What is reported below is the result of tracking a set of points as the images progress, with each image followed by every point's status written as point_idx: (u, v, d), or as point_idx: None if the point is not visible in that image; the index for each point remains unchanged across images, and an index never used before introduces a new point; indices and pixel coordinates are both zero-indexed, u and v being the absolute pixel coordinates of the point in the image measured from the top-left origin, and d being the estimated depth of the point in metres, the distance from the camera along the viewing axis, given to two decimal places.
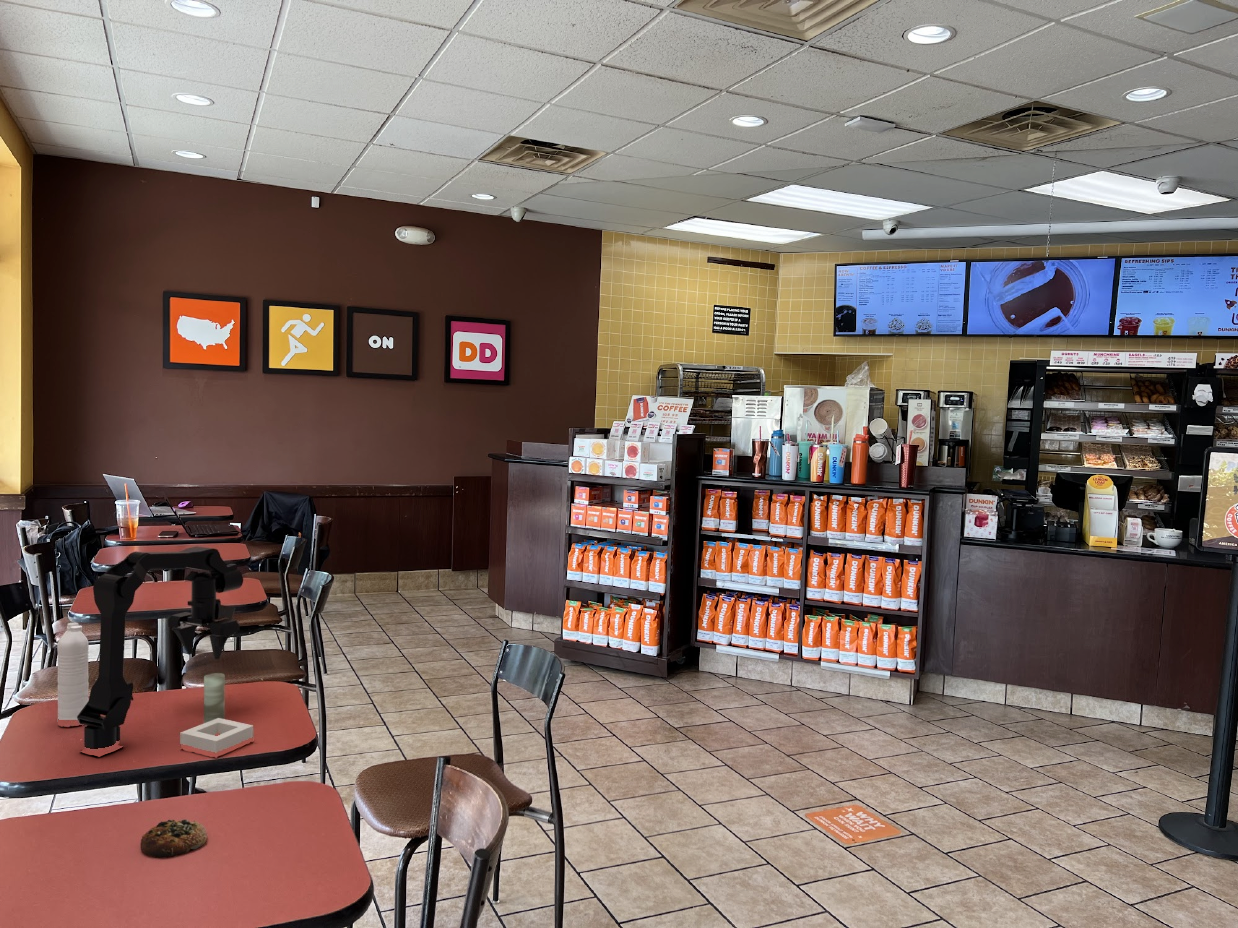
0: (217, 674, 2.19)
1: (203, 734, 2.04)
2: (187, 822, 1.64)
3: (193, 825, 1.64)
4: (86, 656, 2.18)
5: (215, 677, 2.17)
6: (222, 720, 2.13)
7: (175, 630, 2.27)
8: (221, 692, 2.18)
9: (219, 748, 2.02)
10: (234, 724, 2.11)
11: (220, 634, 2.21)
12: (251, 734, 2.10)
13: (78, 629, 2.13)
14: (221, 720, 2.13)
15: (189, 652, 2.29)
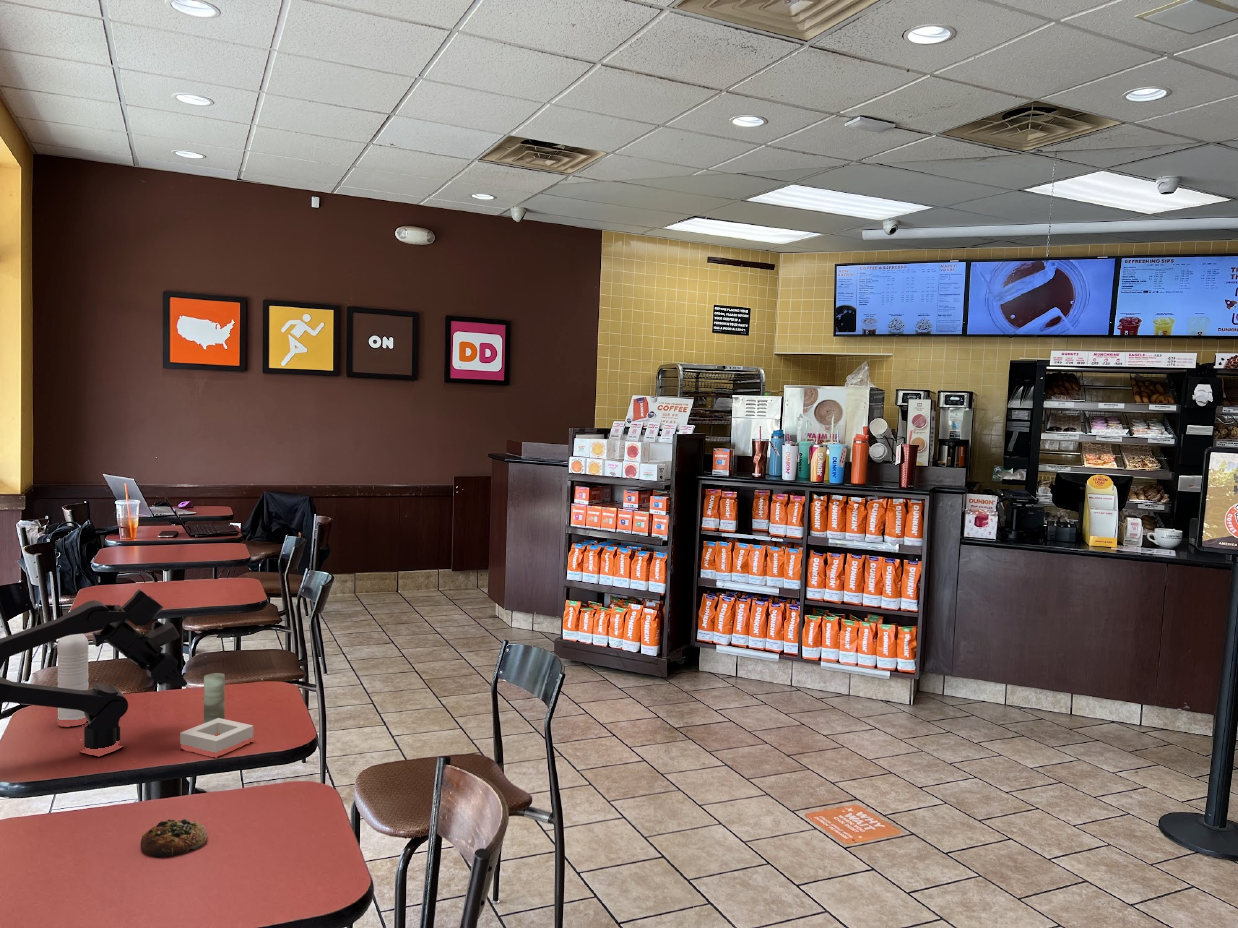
0: (217, 674, 2.19)
1: (203, 734, 2.04)
2: (187, 822, 1.64)
3: (193, 825, 1.64)
4: (86, 656, 2.18)
5: (215, 677, 2.17)
6: (222, 720, 2.13)
7: None
8: (221, 692, 2.18)
9: (219, 748, 2.02)
10: (234, 724, 2.11)
11: (156, 681, 2.01)
12: (251, 734, 2.10)
13: None
14: (221, 720, 2.13)
15: None
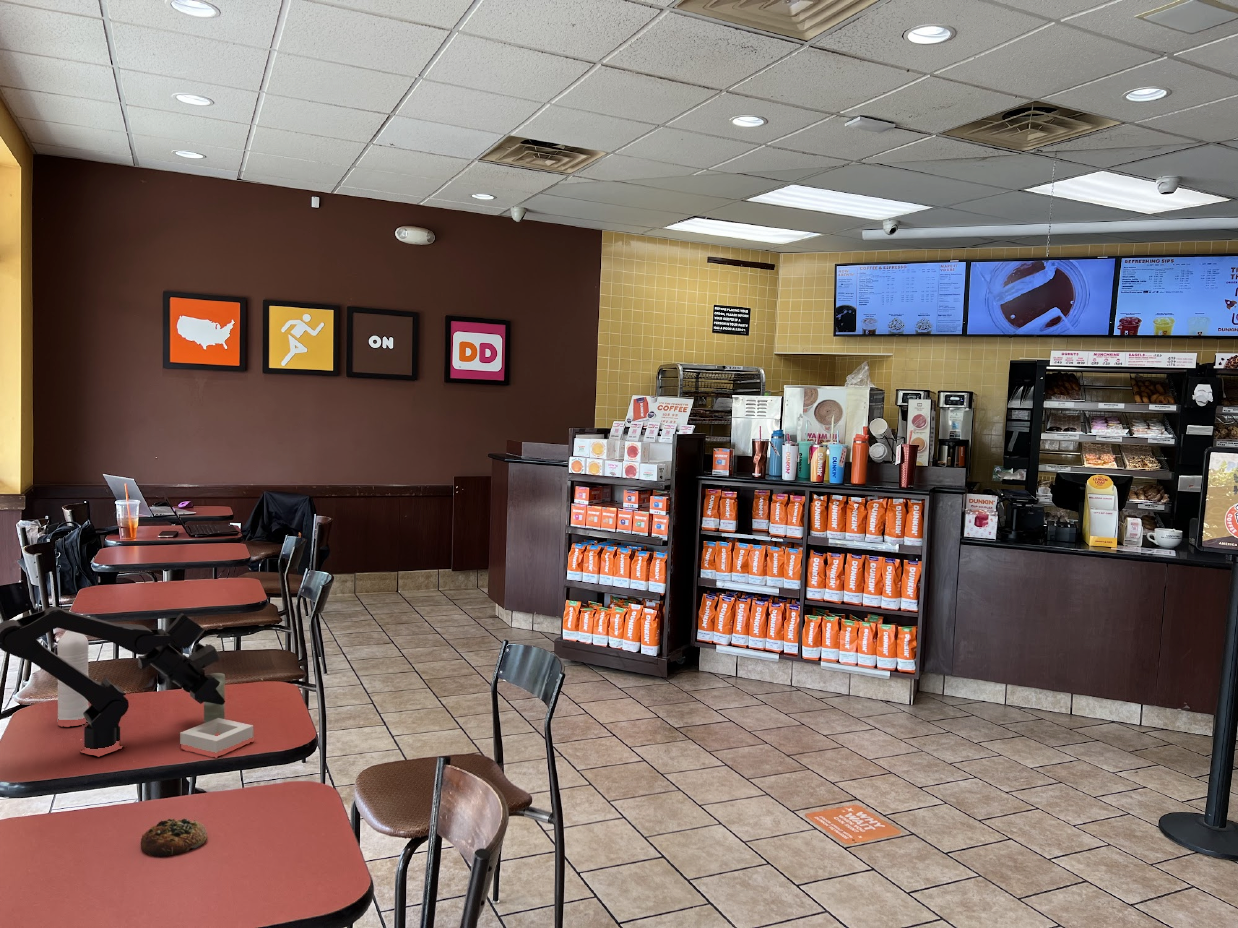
0: (217, 674, 2.20)
1: (203, 734, 2.04)
2: (187, 821, 1.64)
3: (193, 824, 1.64)
4: (86, 656, 2.18)
5: (215, 677, 2.17)
6: (222, 720, 2.13)
7: (185, 690, 2.18)
8: (221, 692, 2.18)
9: (219, 748, 2.02)
10: (234, 724, 2.11)
11: (200, 703, 2.08)
12: (251, 734, 2.10)
13: None
14: (221, 720, 2.13)
15: None
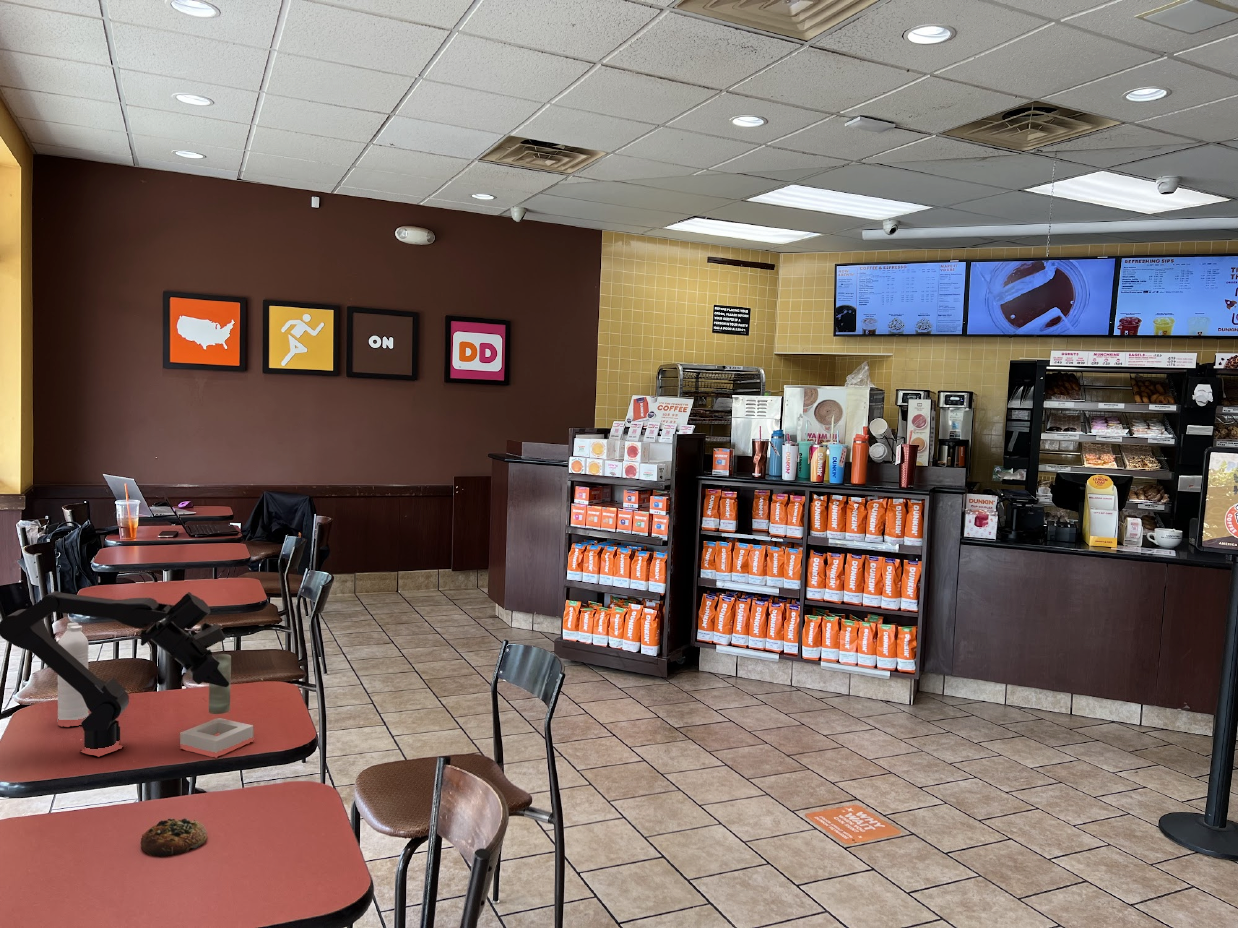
0: (224, 655, 2.12)
1: (203, 734, 2.04)
2: (187, 821, 1.65)
3: (193, 824, 1.65)
4: (86, 656, 2.18)
5: (220, 658, 2.09)
6: (222, 720, 2.13)
7: None
8: (226, 674, 2.10)
9: (219, 748, 2.02)
10: (234, 724, 2.11)
11: (198, 683, 2.00)
12: (251, 734, 2.10)
13: (78, 629, 2.13)
14: (221, 720, 2.13)
15: None
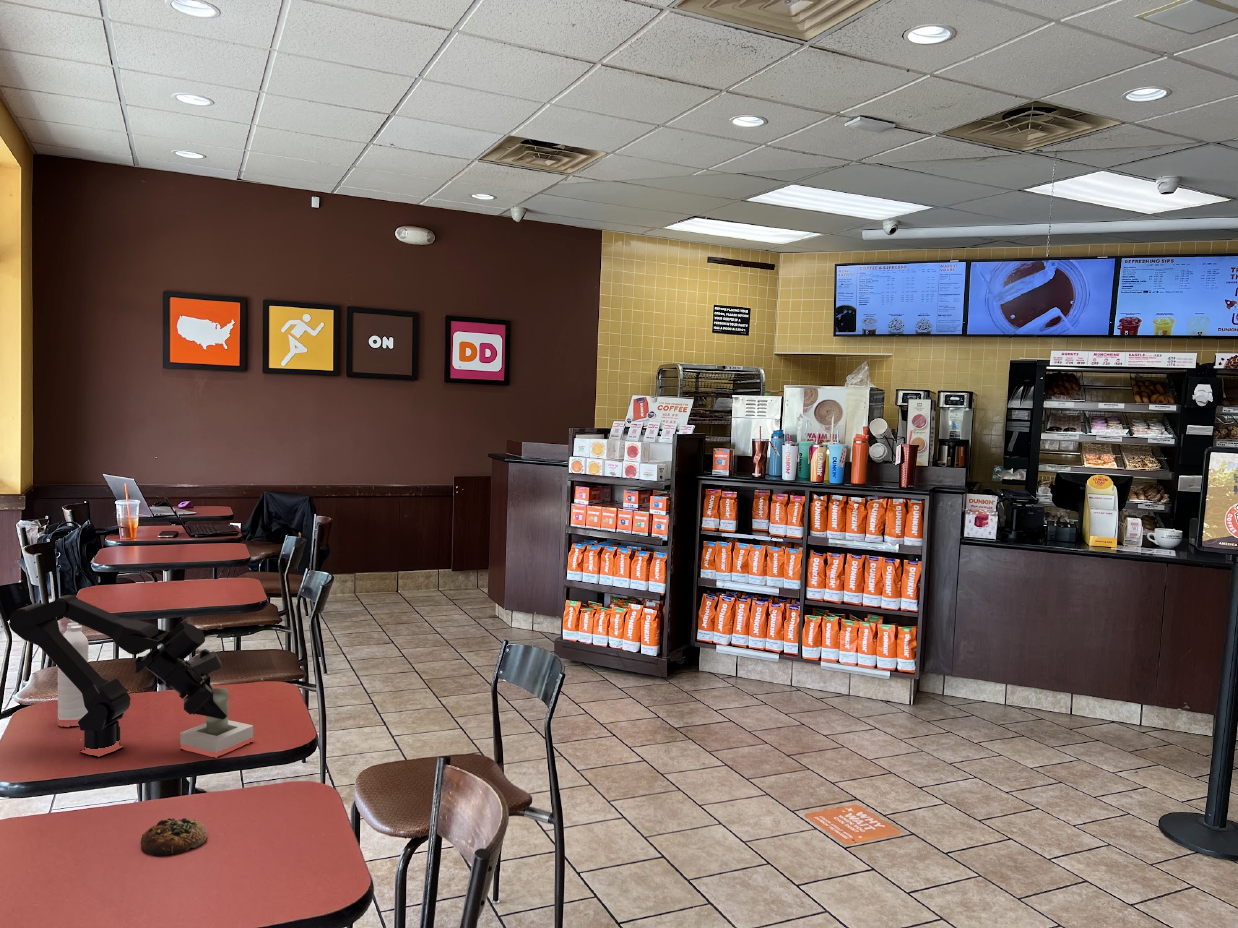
0: (221, 689, 2.08)
1: (203, 734, 2.04)
2: (187, 821, 1.65)
3: (193, 824, 1.65)
4: (86, 656, 2.18)
5: (216, 693, 2.06)
6: None
7: None
8: (222, 709, 2.06)
9: (219, 748, 2.02)
10: (234, 724, 2.11)
11: (189, 713, 1.97)
12: (251, 734, 2.10)
13: (78, 629, 2.13)
14: None
15: None
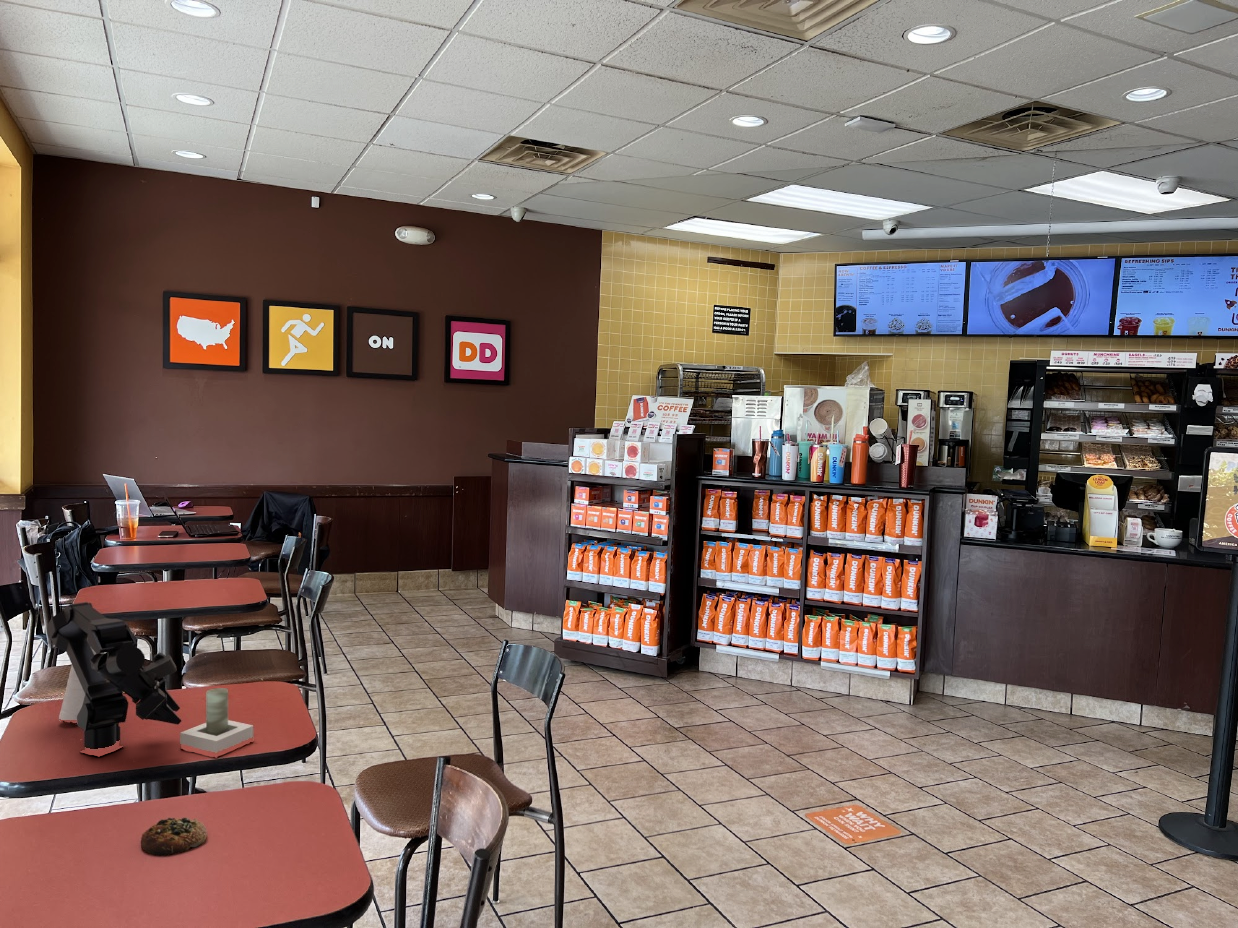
0: (221, 689, 2.08)
1: (203, 734, 2.04)
2: (187, 820, 1.65)
3: (193, 823, 1.65)
4: None
5: (216, 693, 2.06)
6: None
7: None
8: (222, 709, 2.06)
9: (219, 748, 2.02)
10: (234, 724, 2.11)
11: (142, 718, 1.92)
12: (251, 734, 2.10)
13: None
14: None
15: (175, 709, 2.08)
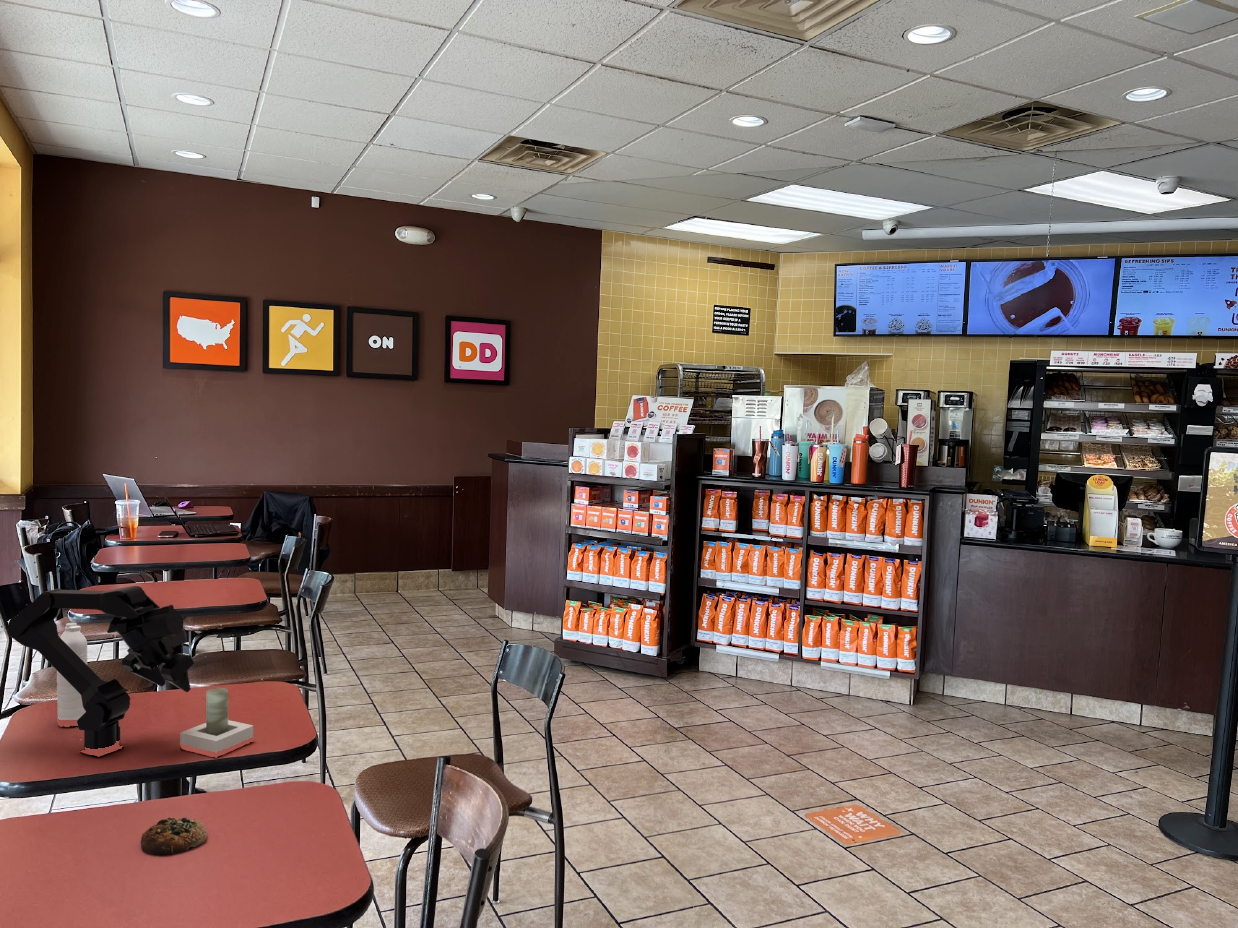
0: (221, 689, 2.08)
1: (203, 734, 2.04)
2: (187, 820, 1.65)
3: (193, 823, 1.65)
4: (85, 656, 2.18)
5: (216, 693, 2.06)
6: None
7: (134, 673, 2.07)
8: (222, 709, 2.06)
9: (219, 748, 2.02)
10: (234, 724, 2.11)
11: (173, 679, 1.99)
12: (251, 734, 2.10)
13: (77, 629, 2.13)
14: None
15: (161, 684, 2.11)
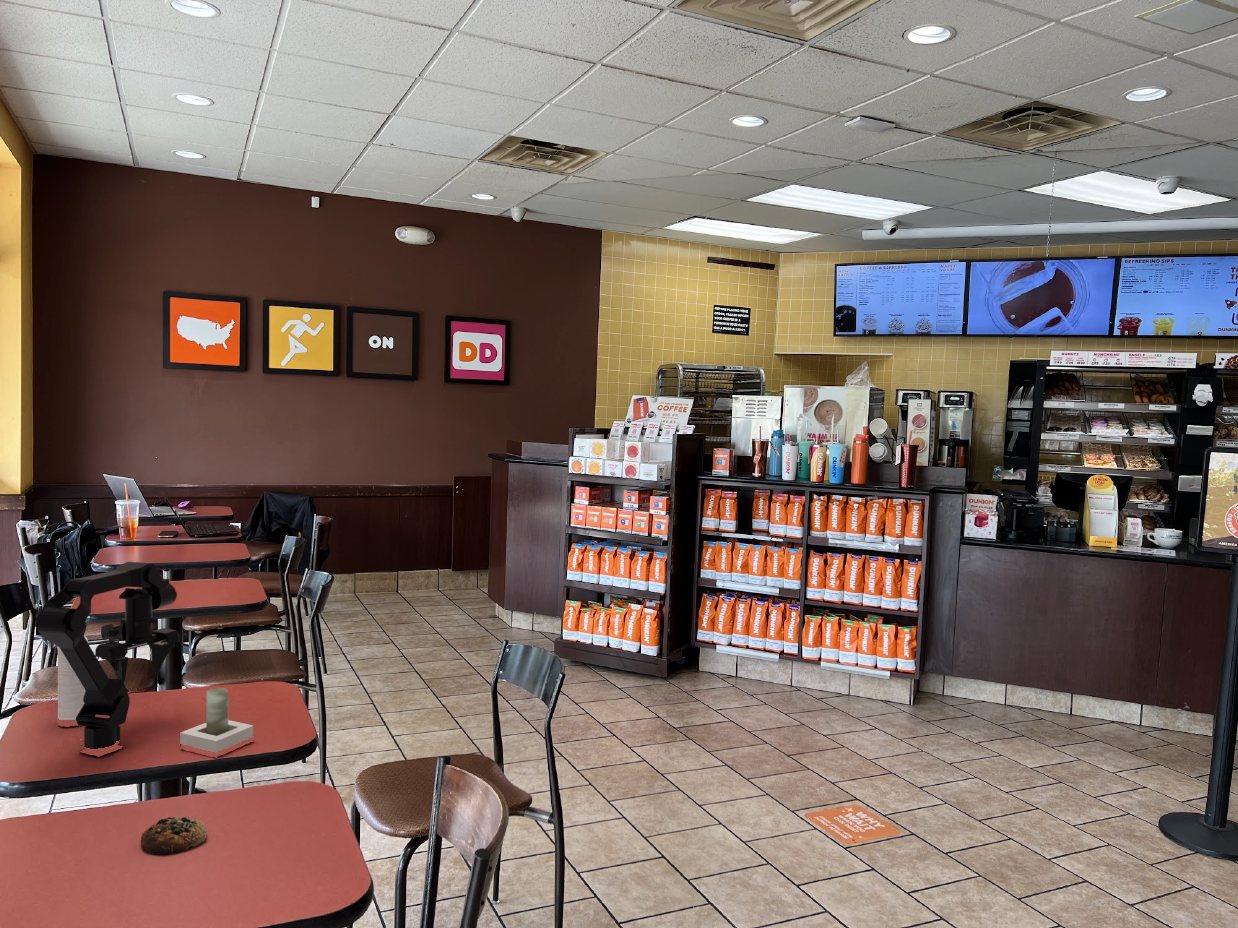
0: (221, 689, 2.08)
1: (203, 734, 2.04)
2: (187, 820, 1.65)
3: (193, 823, 1.65)
4: None
5: (216, 693, 2.06)
6: None
7: (123, 659, 2.07)
8: (222, 709, 2.06)
9: (219, 748, 2.02)
10: (234, 724, 2.11)
11: (178, 640, 2.21)
12: (251, 734, 2.10)
13: None
14: None
15: None
